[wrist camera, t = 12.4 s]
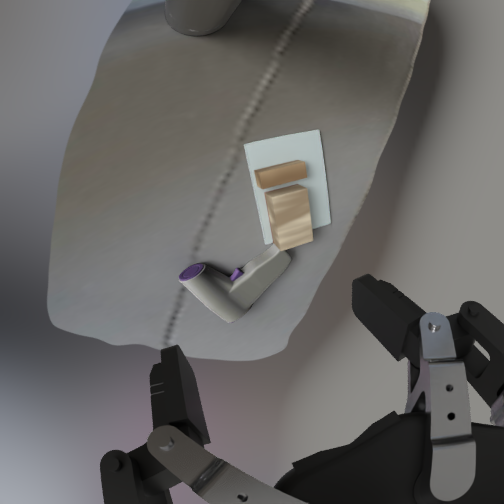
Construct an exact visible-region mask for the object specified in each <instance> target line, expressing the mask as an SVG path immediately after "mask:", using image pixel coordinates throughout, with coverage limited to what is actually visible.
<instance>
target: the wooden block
mask: <svg viewBox="0 0 504 504" xmlns="http://www.w3.org/2000/svg"><path fill="white" fill-rule="evenodd" d="M264 194H265V200H266V205H267V211H268V216H269V221H270V227H271V233H272V238H273V243H274V244H275V245H276V246H277V248H278V249H279V250H280V251H283V250H286V249H289V248H293V247H296V246H299V245H302V244H305V243H308V242H311V241H313V234H312V224H311V215H310V207H309V198H308V190H307V188H305V187H303V186H301V185H299V184H295V185H291V186H287V187H283V188H279V189H275V190H272V191H268V192H264Z"/></svg>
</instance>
